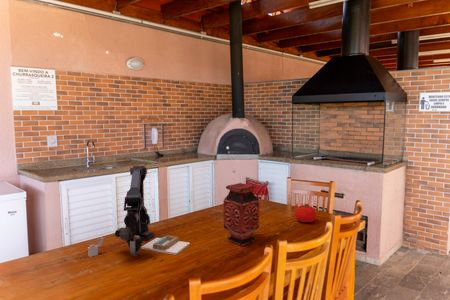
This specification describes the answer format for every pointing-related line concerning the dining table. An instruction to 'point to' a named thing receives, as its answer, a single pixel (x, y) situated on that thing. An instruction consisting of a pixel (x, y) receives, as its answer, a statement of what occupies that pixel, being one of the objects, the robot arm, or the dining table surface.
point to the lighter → (94, 248)
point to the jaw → (161, 240)
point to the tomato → (305, 213)
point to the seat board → (167, 245)
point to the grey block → (133, 248)
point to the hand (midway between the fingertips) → (134, 251)
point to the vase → (241, 213)
